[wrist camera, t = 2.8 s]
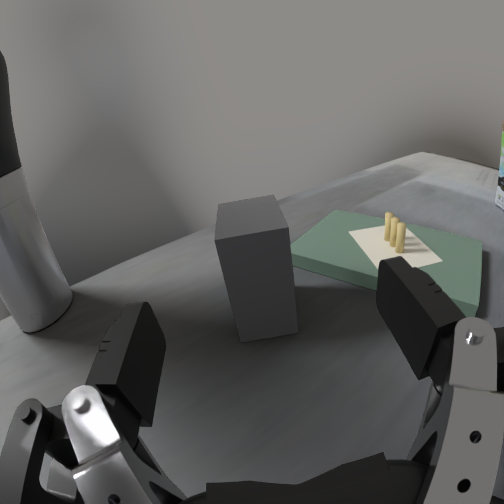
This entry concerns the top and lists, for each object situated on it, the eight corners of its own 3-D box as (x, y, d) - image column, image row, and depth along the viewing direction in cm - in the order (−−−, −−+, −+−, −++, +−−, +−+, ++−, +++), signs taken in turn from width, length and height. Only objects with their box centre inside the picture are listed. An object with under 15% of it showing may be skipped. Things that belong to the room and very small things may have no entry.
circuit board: (284, 263, 31) (279, 224, 28) (335, 219, 38) (333, 188, 36) (473, 319, 18) (488, 275, 16) (479, 252, 25) (486, 217, 23)
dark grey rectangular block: (298, 332, 22) (288, 227, 17) (241, 342, 22) (214, 240, 17) (285, 285, 27) (273, 194, 23) (238, 293, 27) (218, 204, 23)
